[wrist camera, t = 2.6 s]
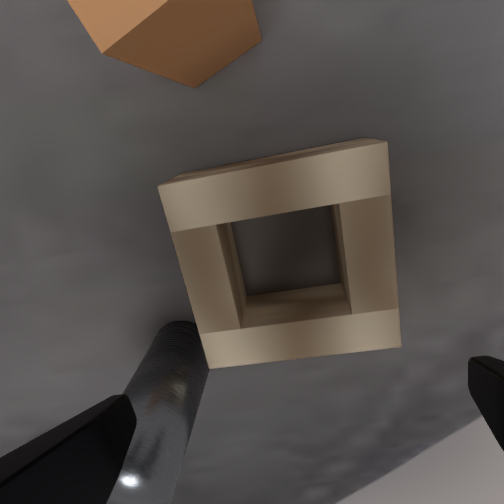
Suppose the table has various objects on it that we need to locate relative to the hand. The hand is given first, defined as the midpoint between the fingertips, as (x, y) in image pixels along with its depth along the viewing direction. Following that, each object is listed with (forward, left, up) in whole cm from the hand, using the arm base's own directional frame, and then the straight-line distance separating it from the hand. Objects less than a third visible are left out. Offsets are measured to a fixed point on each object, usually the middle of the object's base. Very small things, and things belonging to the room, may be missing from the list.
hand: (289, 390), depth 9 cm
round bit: (-4, -9, -12) cm, 16 cm away
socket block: (0, 0, -12) cm, 12 cm away
